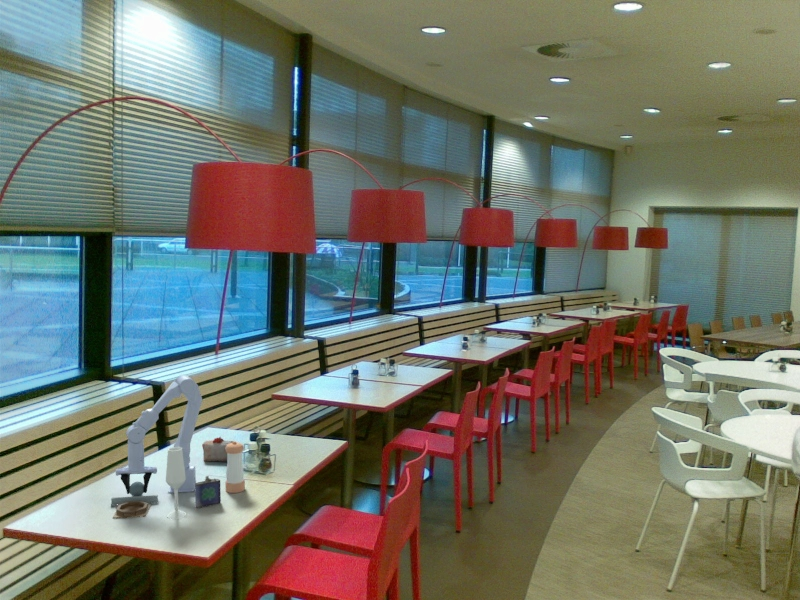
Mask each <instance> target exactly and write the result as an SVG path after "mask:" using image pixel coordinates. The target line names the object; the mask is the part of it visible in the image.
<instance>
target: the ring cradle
mask: <svg viewBox="0 0 800 600" xmlns="http://www.w3.org/2000/svg"><path fill="white" fill-rule="evenodd" d="M151 506H152V503H146V502H143V501H129V502H126V503H123V504H120V505H117V508H116V510H115V513H114V514H113V516H112V519H113V518H116V519H128V518H127V517H132V518H141V517H140V516H143V517H142V518H145V517H144V516H146V517H147V515H148V512H149V511H150V508H151ZM148 510H149V511H148Z"/></svg>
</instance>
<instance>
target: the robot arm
mask: <svg viewBox="0 0 800 600" xmlns="http://www.w3.org/2000/svg"><path fill="white" fill-rule="evenodd" d="M182 394H183V396H184V397H185V398H186V400H187V404H186V408H185V411H184V415H183V418H182V422H181V425H180V429H179V433H178V436H177V439H176V441H175V442H174V443H173V447H181V448H182V451H183V460H184V468H185V476H186V480H185V482H184V483H183V485H182V486H181V487H180V488H178V493H190V492H195V484H196V483H197V477H196V466H195V465H191V464H190V463H191V457H190V454H191V442H192V438H193V435H194V432H195V428H196V424H197V421H198V416H199V413H200V410H201V406H202V402H203V397H202V394H201V391H200V386H199V385H198V384H197V382H196V381H195V380H193V379H192V377H190V376H189V375H187V374H181V375H179V376H177V377H176V379H175V380H173V381H172V382H171V384H170V385H169V386H168V388H167V389H166V390H165V391H164V392H163V394H162V395H161V396H160V398H158V400H157V401H156V402H155V404H154V405H153V406H152V408H147V409H145V411H144V410H142V412H140V414H141V415H140V416H139V417H138V418H137V420H136V421H135V422H134V421H133V422H132V425H130V426H128V428H127V429H126V432H125V435H126V437H127V467H123V468H116V469H115V477H117V476H120V480H121V482H122V483H123V486H124V487H125V491H126V494H127V495H130V491H129V488H130V486H131V475H143V474H144V475H143V484H144V493H143V494H146V493H147V492H148V487H149V482H150V479H151V477H152V475H153V474H154V475H155V474H157V473H158V466H145V446H144V439H145V438H146V433H148V432H149V430H150V429H151V428H152V427H153V426H154V425H155V424H156V423H157V421H158V420H159V419H160V418H159V417H160V416H159V415H160V413H161V412H162V411H163V410H164V409H165V408H166V407H167V406H168V405H169V404H170V403H171V402H172V400H174V399H176V398H181V397H182ZM182 398H183V397H182ZM167 493H170V494H172V493H173V494H174V489H173V488H172V487H170V486H169V489H168V492H167Z"/></svg>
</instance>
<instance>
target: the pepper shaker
mask: <svg viewBox="0 0 800 600" xmlns="http://www.w3.org/2000/svg"><path fill="white" fill-rule="evenodd" d="M232 441H233V442H232V443H230V444H228V445H227V446H226V447H225V450H226V452H227V465H226V470H225V471H226V472H225V474H226V475H225V477H226V480H225V492H227V493H230V494H238V493H241V492H244V491H245V489H246V483H245V482H246V481H245V477H244V476H245V473H244V472H245V470H244V467H243V466H244V465H243V451H244V448H245V447H244V445H243V443H241V442H237V441H236V440H232Z"/></svg>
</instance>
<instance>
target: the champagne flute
mask: <svg viewBox="0 0 800 600" xmlns="http://www.w3.org/2000/svg"><path fill="white" fill-rule="evenodd" d="M166 457H167V458H166V460H167V461H166V469H165V473H166V474H165V482H166V484H167V485H168V486H169V488H170V487H172V488H173V489H174V493H173V494H174V495H173V496H174V510H173V511H171V512H170V513H168V514H167V515H166V518H167V517H168V518H167V519H169V520H179V518H180V519H183V518H185V517H186V516H187V515H186V514H187V513H186V512H185V511H183V510H180V509H179V492H178V488H180V487H181V486H182V485H183V483H184V482H185V480H186V476H185V468H184V460H183V451H182V448H181V447H174V446H173V447H169V448H168V449H167V455H166ZM170 518H171V519H170Z"/></svg>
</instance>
